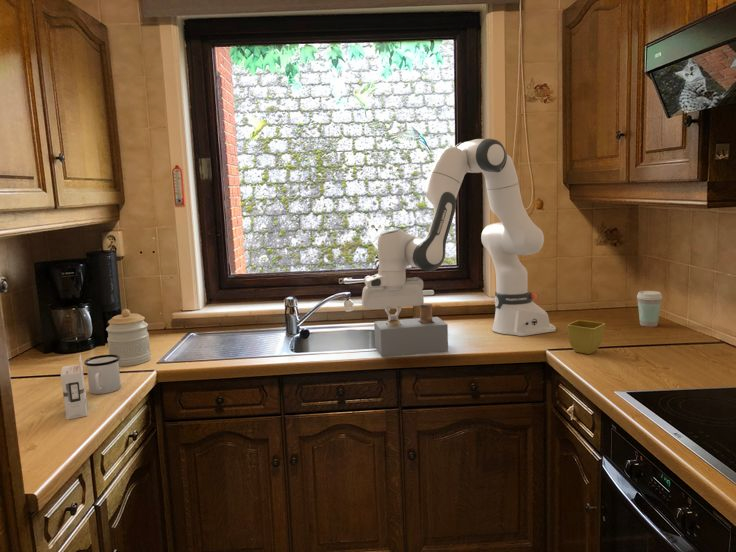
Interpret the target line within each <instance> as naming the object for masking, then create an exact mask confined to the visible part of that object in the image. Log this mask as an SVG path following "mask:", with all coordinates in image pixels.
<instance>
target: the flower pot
mask: <svg viewBox="0 0 736 552" xmlns="http://www.w3.org/2000/svg"><path fill="white" fill-rule="evenodd" d="M566 326H567V334H568V341H569V343H570V347H571V348H572V349H573V351H574V352H576V353H579V354H585V355H586V354H587V355H591V354H592V353H595V352H597V351H598V349H599V348H600V346H601V345H602V341H603V338H604V334H605V333H604V332H605V329H606V328H605V326H606V323H605V322H600V321H591V320H584V319H577V320H575V321H573V322H570V323H568V324H567V325H566Z"/></svg>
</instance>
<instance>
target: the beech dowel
mask: <svg viewBox="0 0 736 552" xmlns="http://www.w3.org/2000/svg"><path fill="white" fill-rule="evenodd" d="M400 320H401V319H398V320H397V321H389V319H388V320H387V321H388V326H400Z"/></svg>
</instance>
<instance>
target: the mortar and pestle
mask: <svg viewBox="0 0 736 552" xmlns="http://www.w3.org/2000/svg"><path fill="white" fill-rule="evenodd" d="M415 318H420V306H412V319H415Z"/></svg>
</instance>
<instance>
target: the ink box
mask: <svg viewBox="0 0 736 552" xmlns="http://www.w3.org/2000/svg"><path fill="white" fill-rule="evenodd" d="M81 353H82V352H81ZM81 353H79V358H78V360H79V361H78V362H79V364H71V365H65V366H62V367H61V371H60V381H61V387H62V395H63V402H64V403H63V404H64V411H65V418H66V419H65V420H67V421H68V420H72V419H78V418H79V419H80V418H83V417H84V418H85V417H87V416H88V402H87V400H88V399H87V394H86V393H87V392H86V385H85V383H86V382H85V377H84V368H83V367H84V366H83V361H82V356H81Z"/></svg>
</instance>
